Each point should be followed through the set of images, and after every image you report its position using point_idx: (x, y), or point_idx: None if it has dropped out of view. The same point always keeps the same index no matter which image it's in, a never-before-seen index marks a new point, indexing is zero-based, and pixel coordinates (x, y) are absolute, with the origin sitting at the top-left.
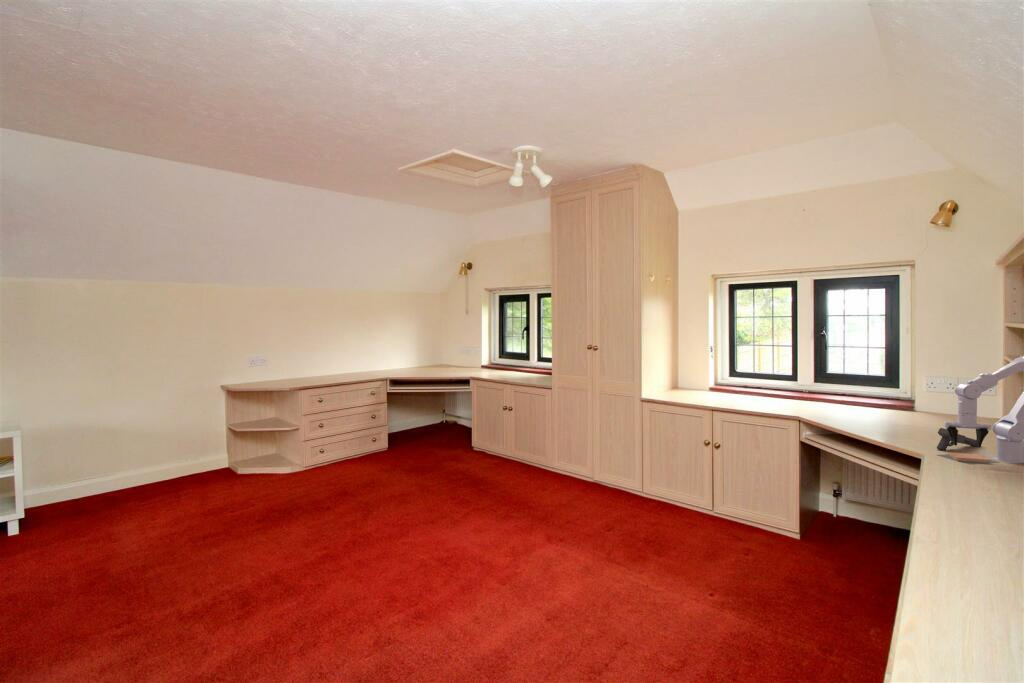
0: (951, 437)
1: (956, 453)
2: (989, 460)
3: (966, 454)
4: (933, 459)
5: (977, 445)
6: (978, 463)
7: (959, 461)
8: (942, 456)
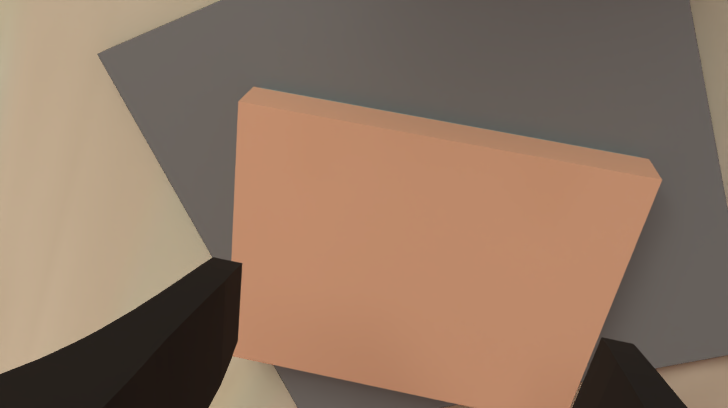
0: (117, 333)
1: (326, 159)
2: (690, 275)
3: (445, 207)
4: (43, 221)
5: (590, 384)
6: (434, 399)
7: None
8: (161, 133)
